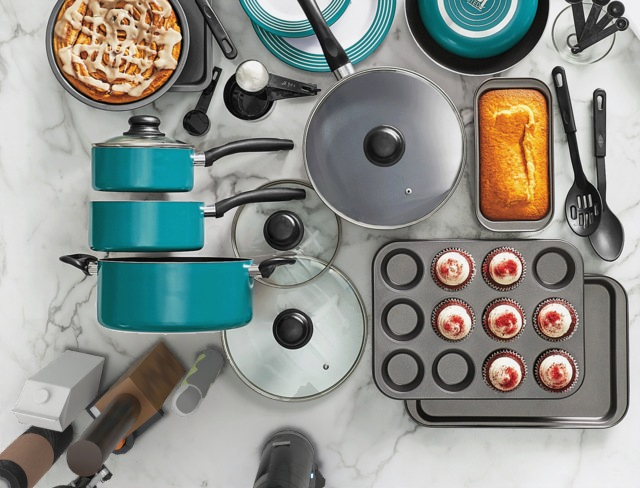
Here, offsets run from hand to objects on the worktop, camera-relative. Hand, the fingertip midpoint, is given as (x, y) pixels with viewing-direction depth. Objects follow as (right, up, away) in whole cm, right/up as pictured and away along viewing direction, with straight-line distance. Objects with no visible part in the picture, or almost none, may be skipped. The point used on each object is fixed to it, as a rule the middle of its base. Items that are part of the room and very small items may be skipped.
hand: (97, 466), depth 110 cm
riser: (+7, +12, +12) cm, 18 cm away
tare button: (0, 0, +10) cm, 10 cm away
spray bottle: (+16, +13, +12) cm, 24 cm away
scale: (+1, +5, +12) cm, 13 cm away
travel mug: (-12, 0, +13) cm, 18 cm away
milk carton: (-7, +11, +13) cm, 18 cm away
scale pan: (0, +6, +8) cm, 10 cm away
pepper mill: (+6, +12, -6) cm, 15 cm away
